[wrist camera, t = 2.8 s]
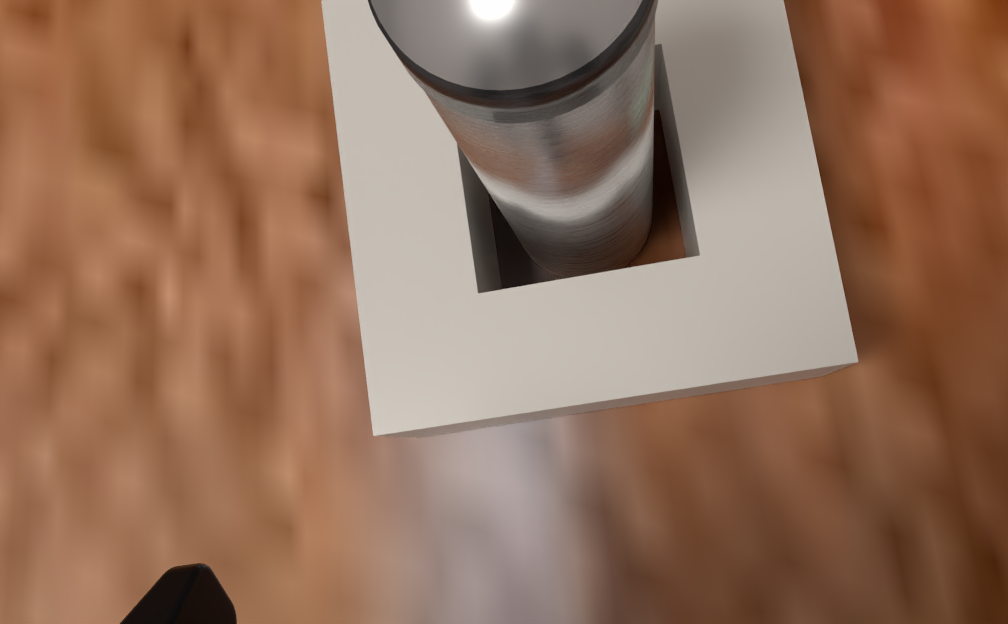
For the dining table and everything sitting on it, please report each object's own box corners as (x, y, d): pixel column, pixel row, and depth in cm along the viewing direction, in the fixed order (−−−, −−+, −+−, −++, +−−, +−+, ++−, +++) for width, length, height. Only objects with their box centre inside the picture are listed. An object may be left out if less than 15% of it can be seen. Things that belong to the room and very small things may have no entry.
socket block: (821, 376, 22) (858, 361, 18) (419, 437, 24) (373, 436, 20) (744, -8, 24) (763, -96, 20) (372, 70, 25) (321, 0, 21)
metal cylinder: (683, 227, 23) (724, -37, 11) (567, 311, 23) (469, 151, 11) (598, 119, 24) (541, -250, 11) (486, 201, 24) (305, -70, 11)
